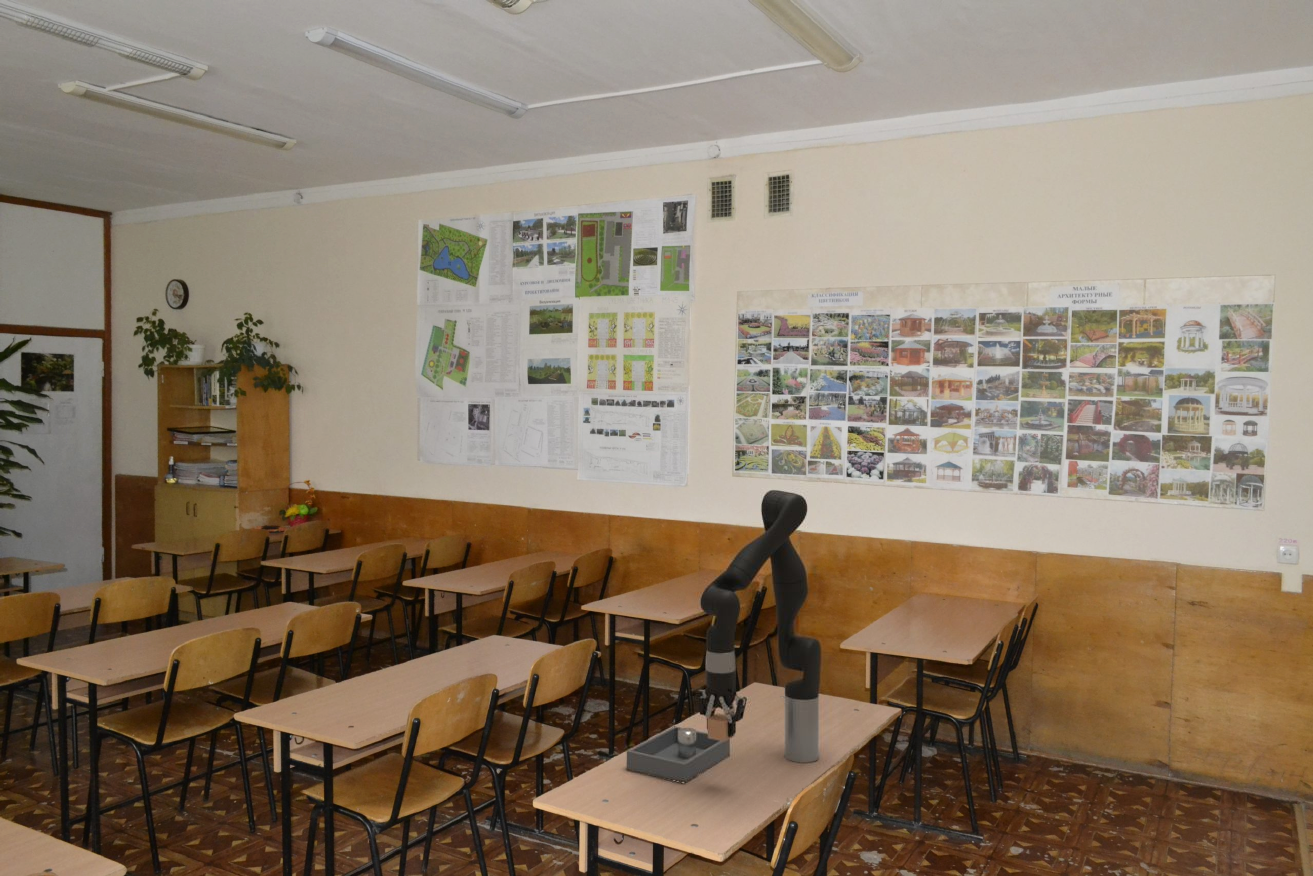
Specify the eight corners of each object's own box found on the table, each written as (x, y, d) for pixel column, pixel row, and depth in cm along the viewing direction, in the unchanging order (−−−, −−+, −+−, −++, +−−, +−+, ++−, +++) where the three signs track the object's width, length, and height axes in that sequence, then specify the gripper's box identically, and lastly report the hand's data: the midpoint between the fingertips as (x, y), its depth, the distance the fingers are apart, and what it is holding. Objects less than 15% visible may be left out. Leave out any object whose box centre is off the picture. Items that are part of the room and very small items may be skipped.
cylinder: (684, 751, 263) (684, 726, 263) (699, 755, 260) (699, 729, 260) (674, 757, 259) (674, 731, 258) (690, 760, 256) (690, 735, 256)
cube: (717, 732, 242) (717, 713, 242) (734, 735, 239) (734, 716, 239) (707, 738, 238) (707, 718, 238) (725, 741, 235) (724, 722, 235)
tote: (674, 743, 271) (674, 726, 271) (729, 755, 261) (729, 737, 261) (626, 769, 251) (626, 751, 251) (684, 784, 241) (684, 764, 241)
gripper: (752, 668, 237) (753, 735, 238) (703, 660, 245) (704, 725, 246) (738, 675, 231) (739, 744, 232) (688, 667, 239) (689, 733, 240)
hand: (721, 734), depth 239 cm, fingers closed on cube, 5 cm apart
